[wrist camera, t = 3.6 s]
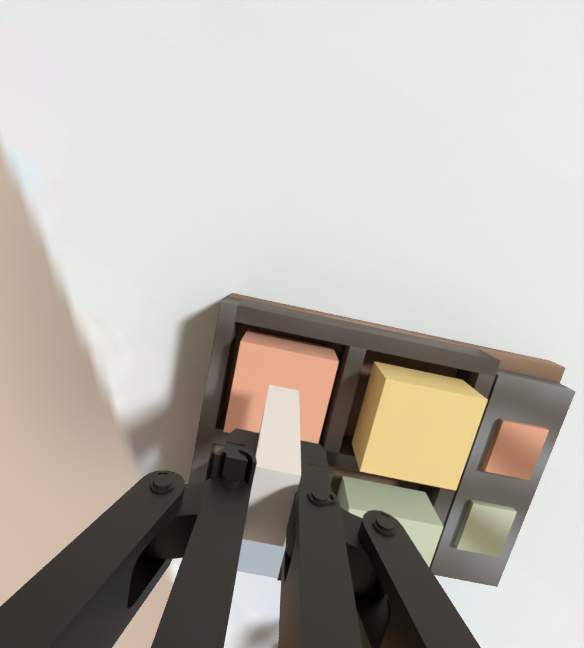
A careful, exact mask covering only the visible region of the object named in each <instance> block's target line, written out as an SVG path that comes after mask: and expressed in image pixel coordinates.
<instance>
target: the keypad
mask: <svg viewBox="0 0 584 648" xmlns="http://www.w3.org/2000/svg"><path fill="white" fill-rule="evenodd" d="M247 329H248V330H253V331H258V332H263V333H267V334H272V335H277V336H282V337H286V338H291V339H296V340H301V341H305V342H310V343H315V344H320V345H324V346H329V347H333V348H334V350H335V353H336V356H337V358H338V361H339V363H338V367H337V371H336V375H335V379H334V383H333V387H332V391H331V395H330V399H329V403H328V407H327V411H326V415H325V419H324V423H323V427H322V431H321V435H320V439H319V442H318V444H320V445H321V446H322V447H323V449H324V450H325V451H326V455H327V462H328V469H329V476H330V483H331V490H332V492H333V493H334V494H335V495H336V496H337V495H338V491H339V487H340V484H341V480H342V476H346V477H351V478H356V479H361V480H366V481H371V482H376V483H381V484H387V485H392V486H397V487H402V488H407V489H412V490H417V491H422V492H425V493H426V494H427V496H428V498H429V500H430V502H431V504H432V506H433V507H434V509H435V511H436V513H437V515H438V517H439V519H440V521H441V522H442V524H443V526H444V527H443V530H442V533H441V535H440V538H439V541H438V544H437V547H436V550H435V553H434V555H433V558H432V561H431V564H430V567H429V568H430V569H431V571H432V573H433V574H434V575H438V576H444V577H449V578H454V579H460V580H465V581H470V582H475V583H481V584H486V585H491V586H498V583H499V581H500V578H501V576H502V573H503V571H504V569H505V566H506V564H507V561H508V559H509V556H510V554H511V551H512V549H513V546H514V544H515V541H516V539H517V536H518V534H519V531H520V529H521V526H522V524H523V521H524V519H525V516H526V514H527V511H528V509H529V506H530V504H531V501H532V499H533V496H534V494H535V491H536V489H537V486H538V484H539V481H540V479H541V476H542V474H543V471H544V469H545V466H546V464H547V461H548V459H549V456H550V454H551V451H552V449H553V446H554V444H555V441H556V439H557V436H558V434H559V431H560V429H561V426H562V424H563V421H564V419H565V416H566V414H567V411H568V409H569V406H570V404H571V401H572V399H573V396H574V394H575V391H573V390H571V389H570V388H568V387H566V386H564V385H562V384H560V380H561V378H562V375H563V373H564V370H565V367H562V366H560V365H558V364H556V363H553V362H551V361H548V360H543V359H538V358H534V357H529V356H524V355H520V354H515V353H510V352H506V351H501V350H496V349H492V348H487V347H482V346H478V345H473V344H468V343H464V342H459V341H454V340H449V339H445V338H440V337H435V336H431V335H426V334H421V333H417V332H412V331H407V330H403V329H398V328H393V327H389V326H384V325H379V324H375V323H370V322H365V321H361V320H356V319H351V318H347V317H342V316H337V315H332V314H328V313H323V312H318V311H314V310H309V309H304V308H300V307H295V306H290V305H286V304H281V303H276V302H272V301H267V300H262V299H258V298H253V297H248V296H244V295H239V294H234V293H232V294H230V295H229V296H228V297H226V298H225V299H224V300H222V301H221V303H220V309H219V314H218V320H217V326H216V331H215V337H214V343H213V348H212V354H211V360H210V366H209V371H208V377H207V383H206V388H205V394H204V400H203V405H202V411H201V417H200V422H199V428H198V434H197V440H196V445H195V451H194V457H193V462H192V468H191V474H190V479H189V484H197V483H201V482H205V481H207V480H208V479H210V478H211V476H212V470H213V465H214V460H215V455H216V453H217V452H218V451H219V450H221V449H223V448H224V446H225V443H226V440H227V437H228V435H229V433H227V432H223V431H224V426H225V421H226V415H227V410H228V405H229V400H230V394H231V389H232V384H233V379H234V374H235V368H236V363H237V358H238V353H239V347H240V342H241V340H242V338H243V336H244V335H245V333H246V331H247ZM374 361H375V362H380V363H385V364H390V365H394V366H399V367H404V368H409V369H413V370H418V371H423V372H428V373H432V374H437V375H442V376H447V377H452V378H456V379H461V380H463V381H465V382H466V383H467V384H468V385H470V386H471V387H472V388H473V389H475V390H476V391H477V392H479V393H480V394H481V395H482V396H484V397H485V398H486V399H487V400H488V401H487V404H486V407H485V410H484V412H483V415H482V418H481V421H480V424H479V427H478V430H477V432H476V435H475V438H474V441H473V444H472V447H471V450H470V452H469V455H468V458H467V461H466V464H465V467H464V470H463V472H462V475H461V478H460V481H459V484H458V487H457V490H451V489H446V488H441V487H436V486H431V485H426V484H421V483H416V482H411V481H405V480H400V479H395V478H390V477H385V476H380V475H375V474H370V473H365V472H360V470H359V467H358V464H357V460H356V457H355V453H354V450H353V446H352V440H353V436H354V432H355V429H356V425H357V421H358V418H359V414H360V410H361V407H362V403H363V399H364V396H365V392H366V389H367V385H368V381H369V378H370V374H371V370H372V367H373V363H374Z"/></svg>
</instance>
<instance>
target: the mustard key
mask: <svg viewBox="0 0 584 648" xmlns="http://www.w3.org/2000/svg"><path fill="white" fill-rule="evenodd" d="M487 401H488V400H487V399H486V398H485V397H484V396H482V395H481V394H480V393H479V392H477V391H476V390H475V389H473V388H472V387H471V386H470V385H468V384H467V383H466V382H465V381H463V380H461V379H456V378H452V377H447V376H442V375H437V374H432V373H428V372H423V371H418V370H413V369H409V368H404V367H399V366H394V365H390V364H385V363H380V362H375V361H374V363H373V367H372V370H371V374H370V378H369V381H368V385H367V389H366V392H365V396H364V399H363V403H362V407H361V410H360V414H359V418H358V421H357V425H356V429H355V432H354V436H353V440H352V446H353V450H354V453H355V457H356V460H357V464H358V467H359V470H360V472H365V473H370V474H375V475H380V476H385V477H390V478H395V479H400V480H405V481H411V482H416V483H421V484H426V485H431V486H436V487H441V488H446V489H451V490H457V487H458V484H459V481H460V478H461V475H462V472H463V470H464V467H465V464H466V461H467V458H468V455H469V452H470V450H471V447H472V444H473V441H474V438H475V435H476V432H477V430H478V427H479V424H480V421H481V418H482V415H483V412H484V410H485V407H486V404H487Z"/></svg>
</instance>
